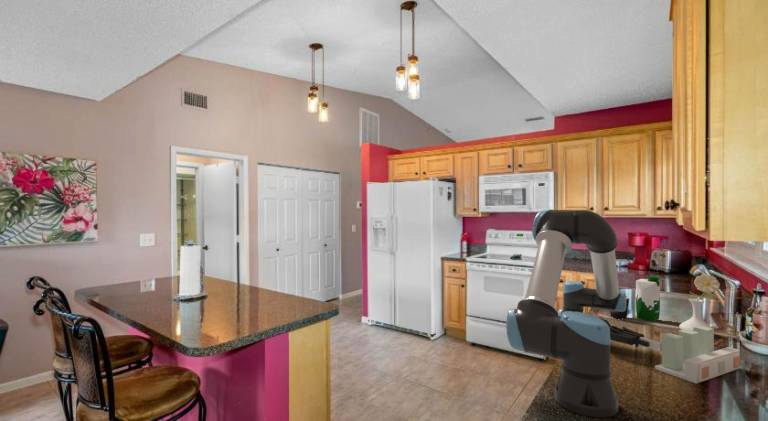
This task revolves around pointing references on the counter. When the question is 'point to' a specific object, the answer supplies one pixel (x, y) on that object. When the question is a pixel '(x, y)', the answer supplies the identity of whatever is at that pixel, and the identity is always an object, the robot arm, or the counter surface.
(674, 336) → the pale green tall block
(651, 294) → the milk carton
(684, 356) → the middle button
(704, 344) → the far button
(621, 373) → the counter surface
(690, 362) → the button panel
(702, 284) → the flower in vase
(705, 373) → the pattern card
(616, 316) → the coffee mug
